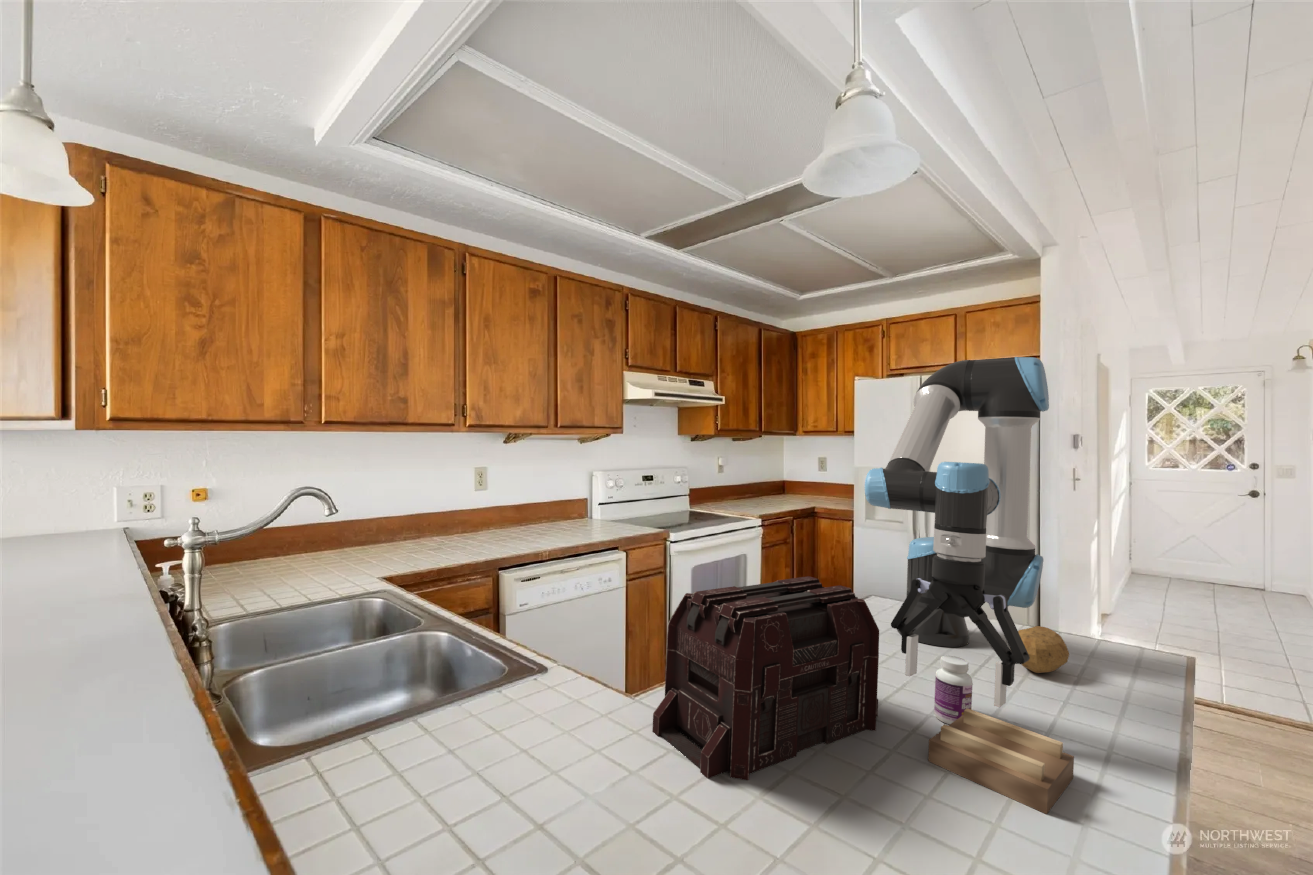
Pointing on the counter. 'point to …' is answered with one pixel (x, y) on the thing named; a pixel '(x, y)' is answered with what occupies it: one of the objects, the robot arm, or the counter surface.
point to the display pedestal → (1004, 759)
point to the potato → (1043, 649)
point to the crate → (767, 673)
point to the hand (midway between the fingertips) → (952, 688)
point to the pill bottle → (952, 689)
